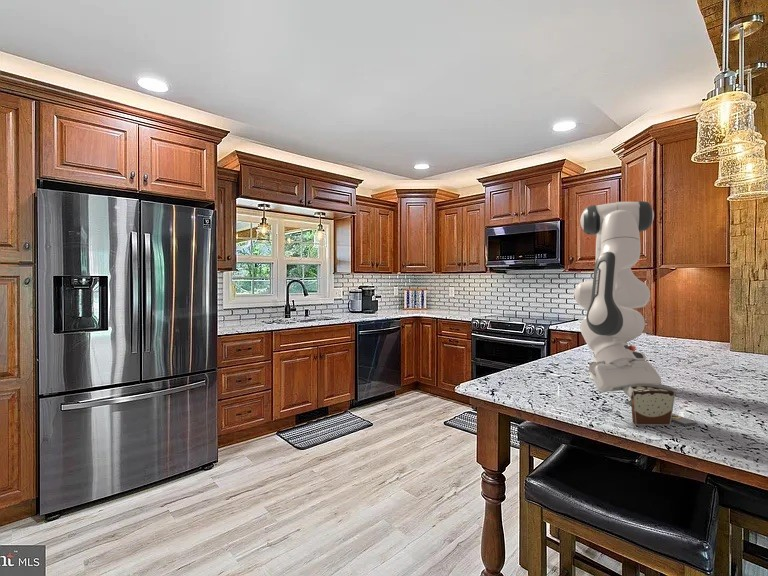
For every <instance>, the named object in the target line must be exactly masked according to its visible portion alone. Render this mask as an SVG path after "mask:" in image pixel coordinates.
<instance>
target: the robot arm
mask: <svg viewBox="0 0 768 576" xmlns="http://www.w3.org/2000/svg"><path fill="white" fill-rule="evenodd" d="M654 218H655V211H654V210H653V208H652V205H651V203H650V202H648V201H645V200H644V201H642V200H637V201H616V202H610V203H604V204H597V205H596V204H593V205H590V206H586V207H585V208H584V209H583V210H582V213H581V215H580V221H579V222H580V228H582V231H583V232H584V234H586V235H590V236H596V238H595V262H594V263H595V264H594V269H593V276H592V280H587V281H586V280H585V281H582V282H579V283H578V284H577V286H576V287H575V289H574V292H573V294H574V295H573V296H574V299H575V301H576V303H577V305H579V306H580V307H581V308H583V310H585V311H586V316H585V317H584V318H583V319H582V320H581V323H580V324H579V327H580V333H581V335H582V337H583V340H584V341H585V343H586V345H587V346H588V348H589V349H590V350H591V351H592V352H593V358H592V361H590V363H588V366H587V368H588V370H589V371H590V375H589V377H588V378H589V379H590V380H593V382H594V384H595V387H596V388H597V389H598V391H600V392H601V393H607V392H610V393H611V392H621V391H623V393H624V394H625V395H627V396H628V397H629V398H630V399H631V396H629V395H628V390H629V387H630V385H632V384H637V383H646V384H656V385H662V378H661V376H660V374H659V373H658V371H657V370H656V368H654V366H653V365H652V363H650V361H647V356H646V355H645V354H644V353H642V352H638V351H636V350H637V347H636V345H632V344H631V345H628V344H627V343H628V342H629V343H630V342H631V341H632V340H634V339H636V338H639V337H640V336H641V335H642V334H644V333H643V332H644V331H645V329H646V320H645V317H644V314H642V313H641V312H640V311H639V310H636V309H641V308H644V307H645V306H646V305H647V304H648V303H649V302H650V299H651V290H650V288H649V286H648V285H647V284H646V283H645V282H643V281H642V280H640V279H639V278H638V277H636V275H635V274H634V273H633V270H632V267H634V266H635V265H636V264H637V263H638V262H639V261H640V258H641V249H642V247H641V234H640V233H641V232H645V231H647V230H648V229H649V228H651V226H652V224H653V221H654V220H655V219H654Z"/></svg>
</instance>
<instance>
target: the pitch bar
mask: <svg viewBox="0 0 768 576" xmlns="http://www.w3.org/2000/svg"><path fill="white" fill-rule="evenodd" d="M625 403H626V404H625ZM624 404H625V405H628V404H629V406H631V400H625V401H624ZM671 422H673V423H675V424H678V423H679V425H680V426H684V427H686V426H696V425H695V424H697V425H698V422H697V421H695V420H692V419H689V418H686V417H684V416H681V415H678V414H675V413H673V412H672V418H671Z"/></svg>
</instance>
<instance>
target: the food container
mask: <svg viewBox="0 0 768 576" xmlns="http://www.w3.org/2000/svg"><path fill="white" fill-rule="evenodd" d="M628 395H629V396H631V398H630V401H631V405H630V406H631V419H632V424H634V426H671V424H672V421H671V418H672V413H673V410H674V403H675V398H678V395H677V391H676V388H673V387H669V386H666V385H662V384H660V385H656V384H646V383H637V384H632V385H630V387H629V390H628ZM628 395H627V396H628ZM629 396H628V397H629Z"/></svg>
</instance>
